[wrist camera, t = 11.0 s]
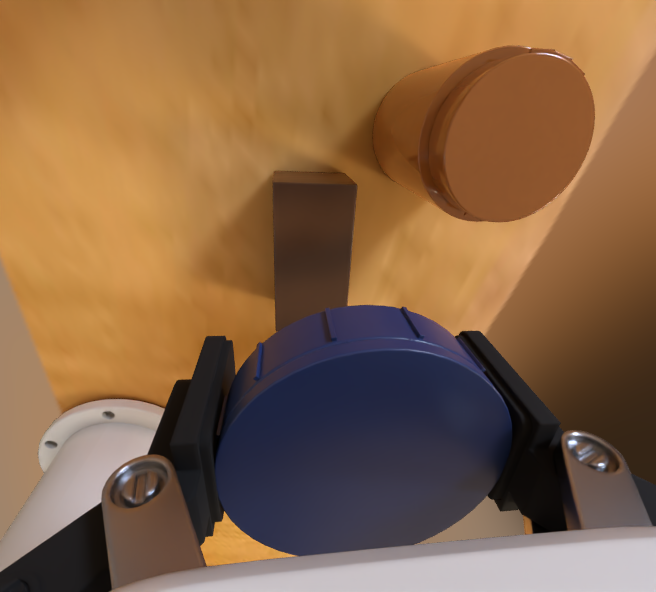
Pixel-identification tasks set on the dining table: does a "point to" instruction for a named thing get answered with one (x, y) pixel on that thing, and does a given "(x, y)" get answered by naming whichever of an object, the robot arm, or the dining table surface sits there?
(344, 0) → the dining table surface
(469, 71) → the jam jar
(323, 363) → the jar lid
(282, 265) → the stand
